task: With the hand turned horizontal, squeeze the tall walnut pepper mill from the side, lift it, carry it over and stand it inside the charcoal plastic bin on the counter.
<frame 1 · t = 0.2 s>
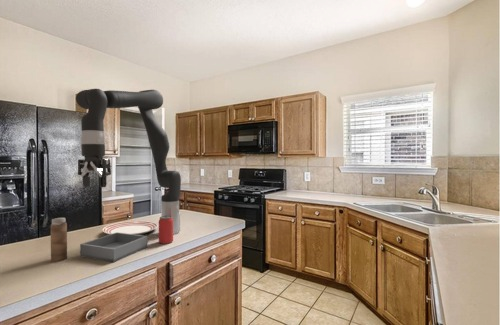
hand: (94, 186, 97), 29 cm above the worktop, tool pointing down, fingers open, 8 cm apart
dinner plate: (131, 232, 141), on the worktop
pepper mill: (59, 259, 102), on the worktop
beer can: (166, 242, 124), on the worktop
bin: (115, 251, 111), on the worktop
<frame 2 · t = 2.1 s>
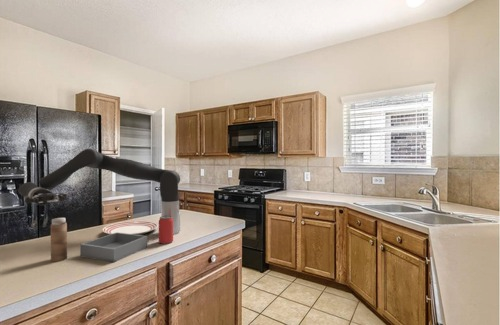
hand: (50, 200, 109), 22 cm above the worktop, tool horizontal, fingers open, 8 cm apart
nothing on the worktop moved.
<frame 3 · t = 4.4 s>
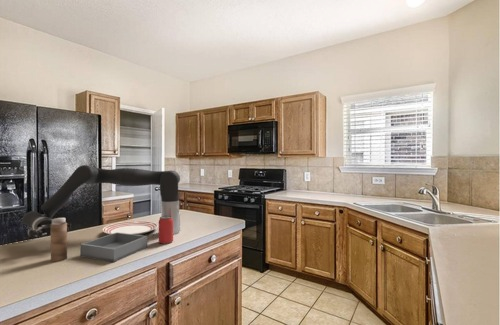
hand: (54, 232, 107), 9 cm above the worktop, tool horizontal, fingers open, 8 cm apart
nothing on the worktop moved.
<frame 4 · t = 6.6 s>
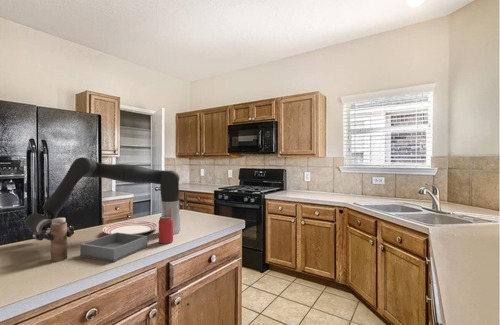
hand: (61, 236, 101), 10 cm above the worktop, tool horizontal, fingers closed on pepper mill, 5 cm apart
pepper mill: (59, 259, 102), on the worktop, touching gripper
everything else where it was.
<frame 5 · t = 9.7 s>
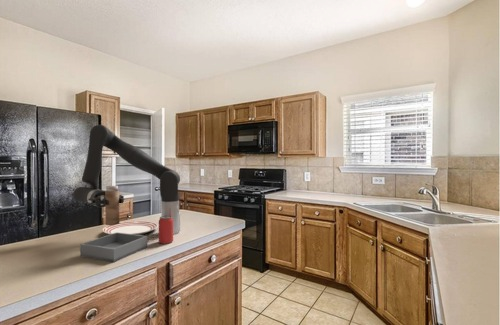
hand: (115, 201, 108), 22 cm above the worktop, tool horizontal, fingers closed on pepper mill, 5 cm apart
pepper mill: (112, 223, 110), point 12 cm above the worktop, touching gripper
everything else where it was.
when the fingers open (12 cm above the worktop, at t = 12.7 s): pepper mill drops 1 cm, resting on bin.
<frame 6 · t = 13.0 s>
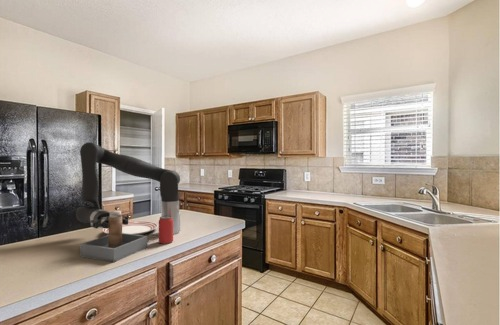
hand: (117, 224, 109), 12 cm above the worktop, tool horizontal, fingers open, 7 cm apart
pepper mill: (115, 249, 111), point 1 cm above the worktop, touching bin
everything else where it was.
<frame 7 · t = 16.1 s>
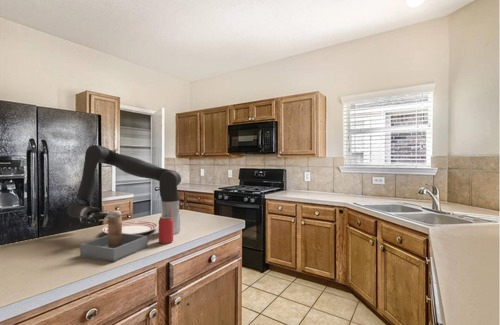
hand: (104, 219, 118), 12 cm above the worktop, tool horizontal, fingers open, 8 cm apart
nothing on the worktop moved.
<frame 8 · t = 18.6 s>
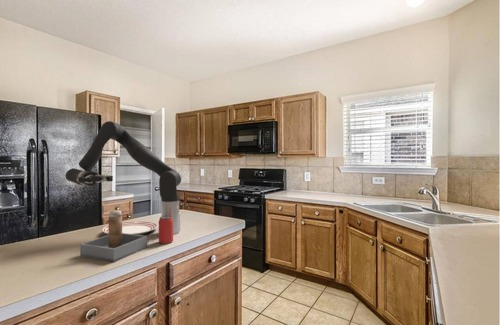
hand: (101, 179, 120), 30 cm above the worktop, tool horizontal, fingers open, 8 cm apart
nothing on the worktop moved.
at the end: pepper mill inside the target area on the bin (0.2 cm from its centre), point 1.0 cm above the bin's base; pepper mill tilted 1°; the gripper is holding nothing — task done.
